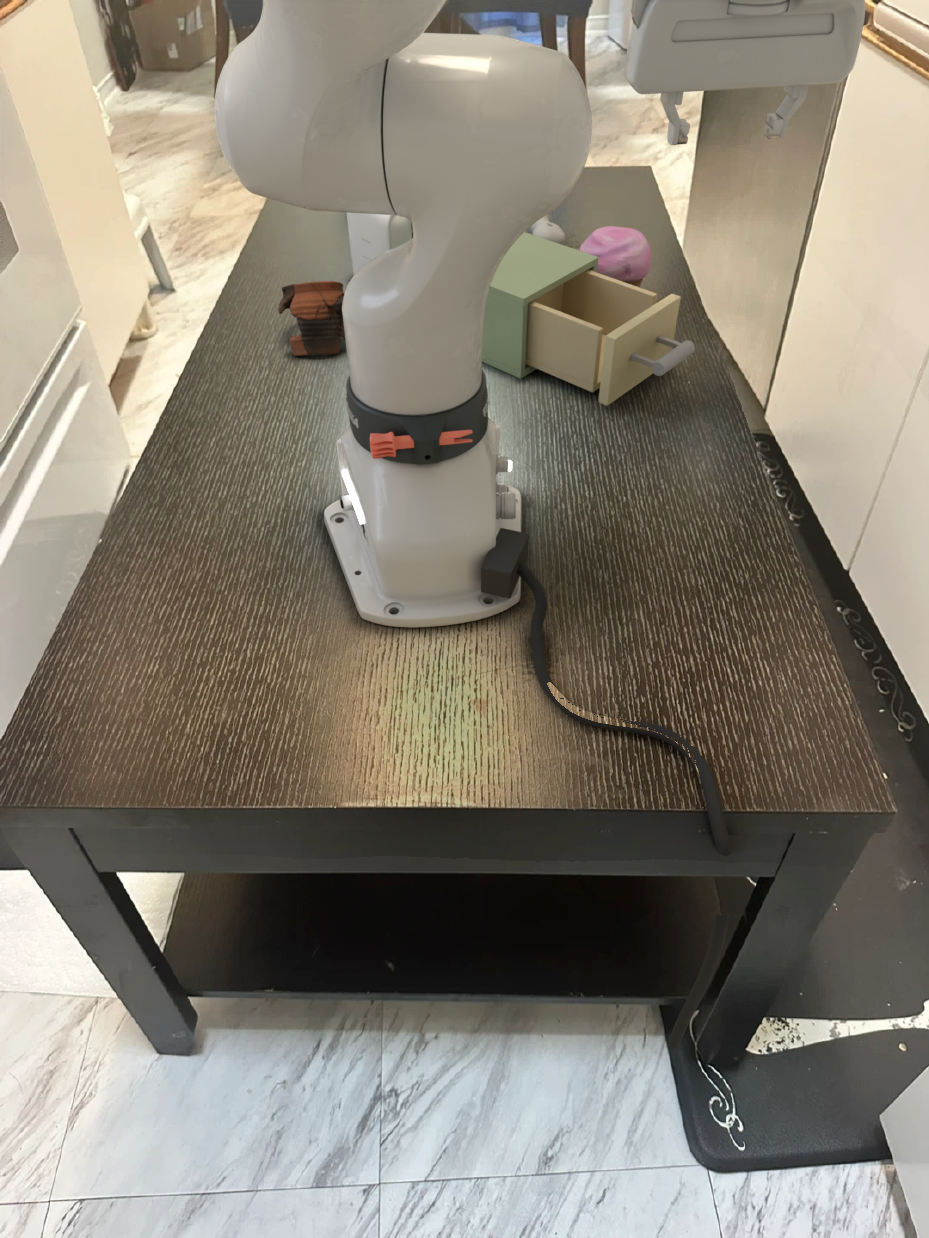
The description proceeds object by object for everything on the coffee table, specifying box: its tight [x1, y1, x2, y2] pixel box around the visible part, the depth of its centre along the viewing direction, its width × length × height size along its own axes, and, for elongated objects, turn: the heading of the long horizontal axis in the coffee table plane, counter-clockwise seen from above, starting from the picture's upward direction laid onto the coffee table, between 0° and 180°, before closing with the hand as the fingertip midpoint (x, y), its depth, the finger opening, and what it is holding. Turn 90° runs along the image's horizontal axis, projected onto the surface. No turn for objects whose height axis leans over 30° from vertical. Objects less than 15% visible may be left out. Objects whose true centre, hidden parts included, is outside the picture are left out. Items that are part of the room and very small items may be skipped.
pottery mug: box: [277, 280, 346, 357], centre depth 106 cm, size 12×10×8 cm
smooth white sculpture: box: [527, 213, 566, 246], centre depth 125 cm, size 4×8×5 cm
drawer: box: [525, 270, 696, 407], centre depth 98 cm, size 20×12×8 cm, turn 48°
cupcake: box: [579, 225, 652, 288], centre depth 109 cm, size 9×9×10 cm
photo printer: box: [345, 212, 413, 276], centre depth 113 cm, size 10×4×12 cm, turn 39°
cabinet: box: [482, 231, 599, 380], centre depth 105 cm, size 17×14×10 cm
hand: (725, 140), depth 83 cm, fingers open, 8 cm apart
